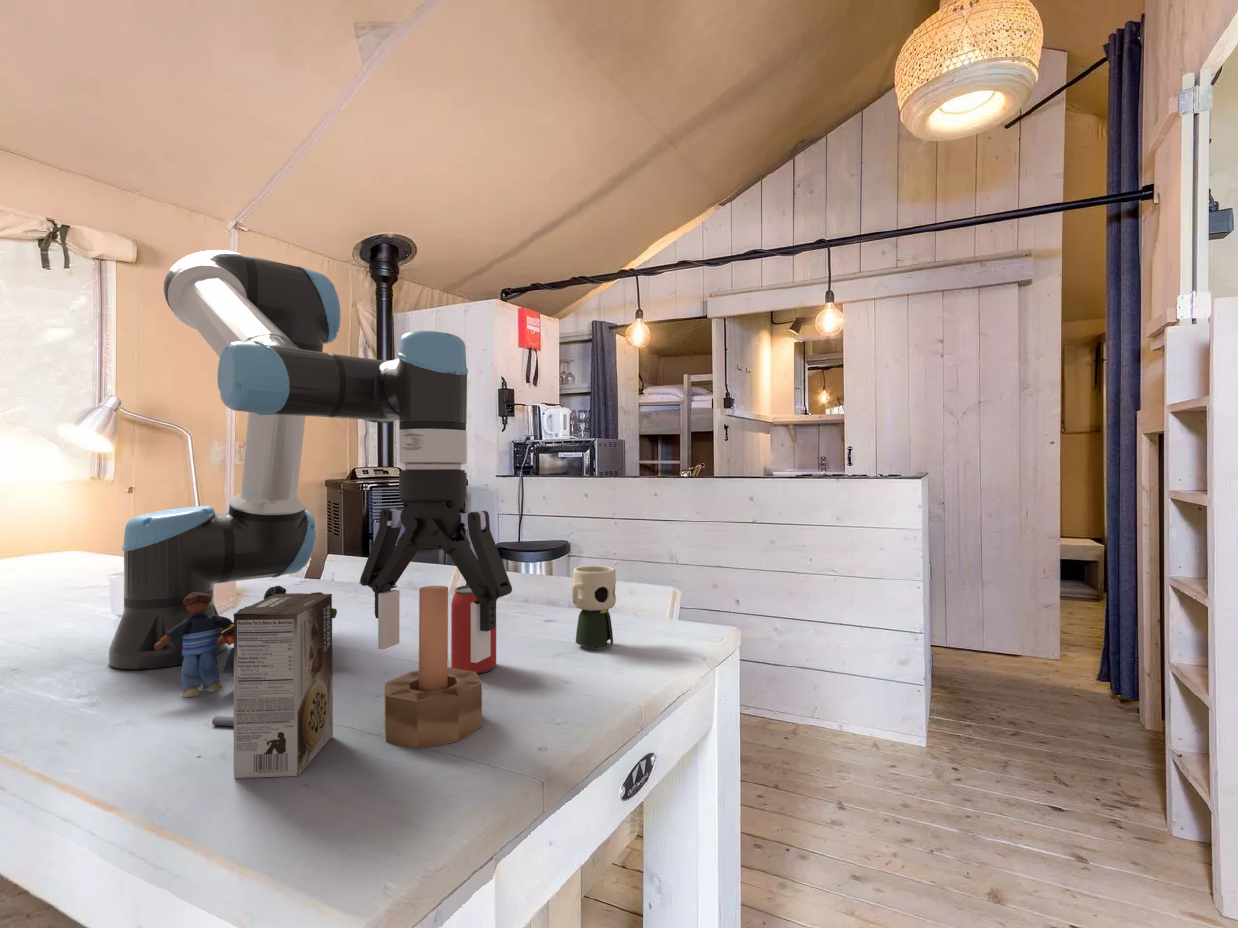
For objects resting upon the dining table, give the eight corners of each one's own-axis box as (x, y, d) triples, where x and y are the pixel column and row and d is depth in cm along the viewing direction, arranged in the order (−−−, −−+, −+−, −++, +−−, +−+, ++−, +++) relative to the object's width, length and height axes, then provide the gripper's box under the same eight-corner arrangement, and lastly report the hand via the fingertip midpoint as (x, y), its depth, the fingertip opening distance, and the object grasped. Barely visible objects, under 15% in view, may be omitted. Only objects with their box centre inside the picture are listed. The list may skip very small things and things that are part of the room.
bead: (364, 736, 68) (364, 691, 69) (427, 703, 78) (427, 664, 78) (440, 753, 65) (440, 705, 65) (496, 716, 74) (496, 674, 74)
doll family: (195, 711, 76) (195, 603, 76) (147, 701, 79) (147, 598, 79) (341, 657, 98) (341, 573, 98) (298, 651, 101) (298, 569, 101)
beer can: (485, 677, 88) (485, 593, 88) (442, 674, 89) (442, 591, 89) (503, 662, 94) (503, 584, 95) (463, 660, 96) (463, 583, 96)
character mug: (590, 658, 97) (590, 575, 97) (556, 650, 101) (556, 571, 101) (630, 642, 105) (630, 566, 105) (598, 635, 110) (598, 562, 110)
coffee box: (274, 738, 68) (274, 592, 68) (334, 736, 69) (334, 591, 69) (229, 780, 59) (230, 612, 59) (299, 777, 60) (299, 610, 60)
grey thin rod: (211, 726, 71) (212, 717, 71) (218, 722, 72) (218, 714, 72) (295, 731, 70) (295, 722, 70) (301, 727, 71) (301, 718, 71)
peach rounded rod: (412, 729, 70) (413, 589, 70) (430, 718, 73) (431, 584, 73) (435, 734, 69) (436, 592, 69) (453, 723, 72) (453, 586, 72)
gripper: (328, 467, 73) (327, 649, 73) (506, 467, 63) (506, 676, 63) (375, 467, 80) (375, 633, 80) (542, 467, 70) (542, 655, 70)
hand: (433, 652), depth 71 cm, fingers open, 12 cm apart
